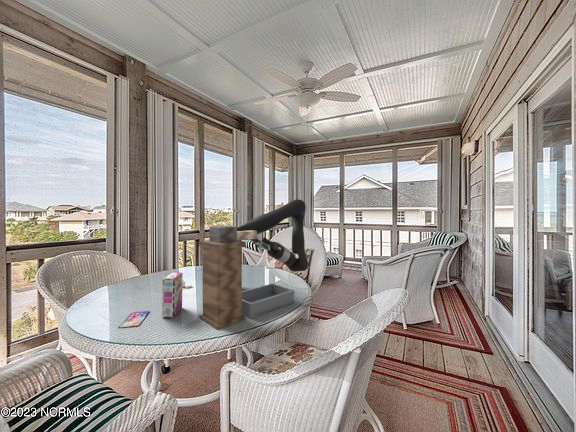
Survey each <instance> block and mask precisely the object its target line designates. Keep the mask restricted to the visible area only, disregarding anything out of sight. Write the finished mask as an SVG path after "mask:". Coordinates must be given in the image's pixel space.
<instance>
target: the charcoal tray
mask: <svg viewBox="0 0 576 432" xmlns="http://www.w3.org/2000/svg"><path fill="white" fill-rule="evenodd" d="M294 303H295V290H294V289H291V288H287V287H284V286H281V285H280V284H276V283H269V284H265V285H261V286H256V287H253V288H250V289H247V290H242V315H243V316H245V318H246V317H247V318H248V319H253V318H256V317H258V316H261V315H264V314H267V313H270V312H273V311H275V309H276V310H277V309H281V308H283V307H286V305H287V306H289V305H292V304H294Z"/></svg>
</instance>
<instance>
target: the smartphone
mask: <svg viewBox="0 0 576 432" xmlns="http://www.w3.org/2000/svg"><path fill="white" fill-rule="evenodd" d="M150 313H151V310H150V311H149V310H148V311H147V310H146V311H145V310H144V311H134V312H133V311H132V312H131V313H130V314H129V315H128V316H126V318H125V319H124V320H123V322H121V324H120V325H119V326H118V329H127V328H128V329H129V328H139V327H140V326H141V325H142V324H143V322H144V321H145V320H146V319H147V317H148V316H149V314H150ZM138 326H139V327H138Z"/></svg>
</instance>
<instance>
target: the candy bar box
mask: <svg viewBox="0 0 576 432" xmlns="http://www.w3.org/2000/svg"><path fill="white" fill-rule="evenodd" d="M182 280H183V272H171V273H170V274H168V275H166V276H165V277H163V279H162V314H161V315H162V319H166V318H169V319H172V318H173V319H174V318H175V316H177V315H178V313H180V312H179V311H181V310H182V308H183V288H182Z"/></svg>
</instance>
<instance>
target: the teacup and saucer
mask: <svg viewBox="0 0 576 432" xmlns="http://www.w3.org/2000/svg"><path fill="white" fill-rule="evenodd" d="M191 287H193V285H192V284H191V283H190V284H186V280H185V279H182V289H183V290H186V289H189V288H191Z"/></svg>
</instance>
